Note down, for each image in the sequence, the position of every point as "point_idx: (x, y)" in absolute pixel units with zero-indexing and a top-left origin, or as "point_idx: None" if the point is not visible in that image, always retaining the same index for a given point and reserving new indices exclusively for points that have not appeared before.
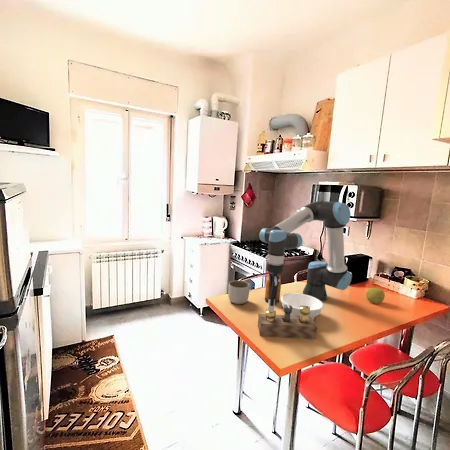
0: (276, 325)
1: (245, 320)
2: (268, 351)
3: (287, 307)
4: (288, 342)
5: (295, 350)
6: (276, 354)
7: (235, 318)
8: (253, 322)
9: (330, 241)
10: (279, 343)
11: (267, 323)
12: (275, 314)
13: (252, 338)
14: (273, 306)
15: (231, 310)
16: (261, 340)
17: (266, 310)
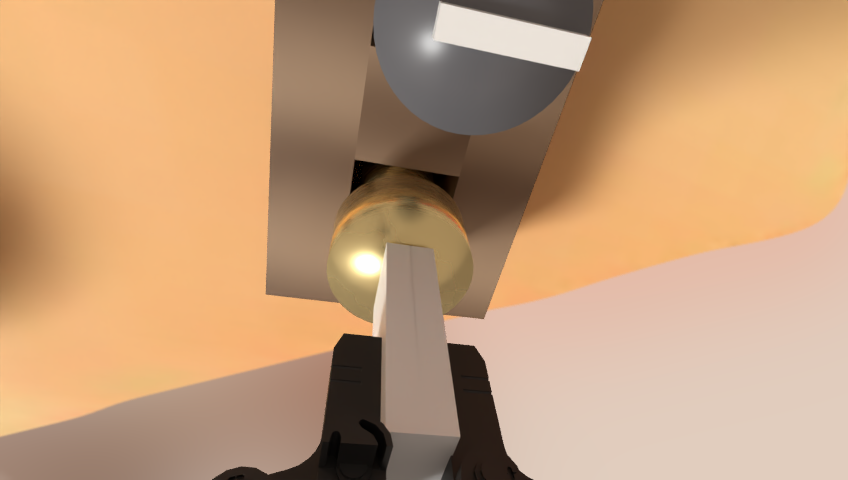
0: (531, 179)
1: (218, 295)
2: (665, 242)
3: (526, 71)
4: (619, 36)
5: (751, 23)
6: (718, 203)
7: (197, 352)
8: (245, 244)
9: None
10: (606, 131)
11: (491, 265)
12: (447, 211)
13: (491, 300)
14: (437, 317)
15: (51, 360)
16: (528, 251)
17: (370, 315)
